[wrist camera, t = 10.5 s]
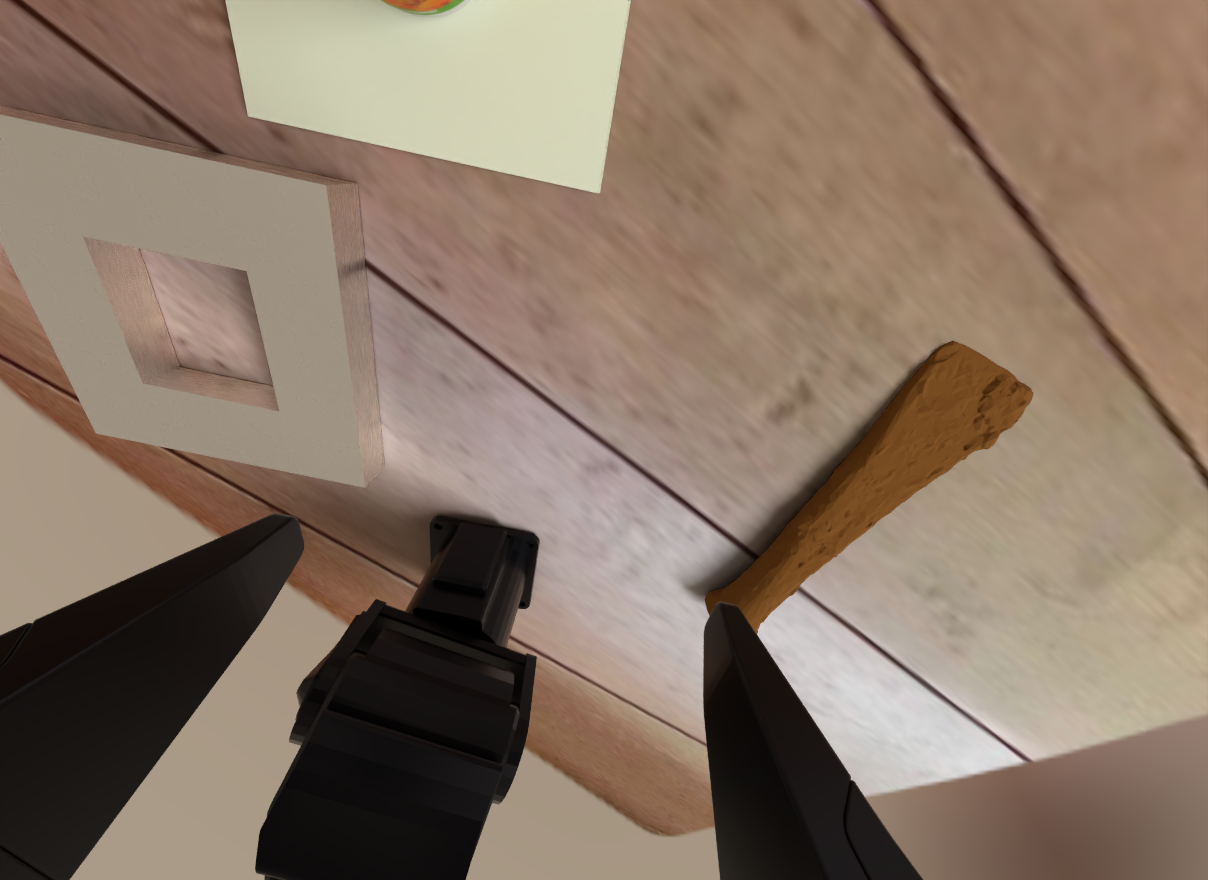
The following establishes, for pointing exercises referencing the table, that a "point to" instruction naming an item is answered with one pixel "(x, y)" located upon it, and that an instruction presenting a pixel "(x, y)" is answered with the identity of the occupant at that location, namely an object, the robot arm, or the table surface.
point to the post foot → (208, 234)
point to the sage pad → (443, 78)
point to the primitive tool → (885, 470)
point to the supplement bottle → (427, 6)
